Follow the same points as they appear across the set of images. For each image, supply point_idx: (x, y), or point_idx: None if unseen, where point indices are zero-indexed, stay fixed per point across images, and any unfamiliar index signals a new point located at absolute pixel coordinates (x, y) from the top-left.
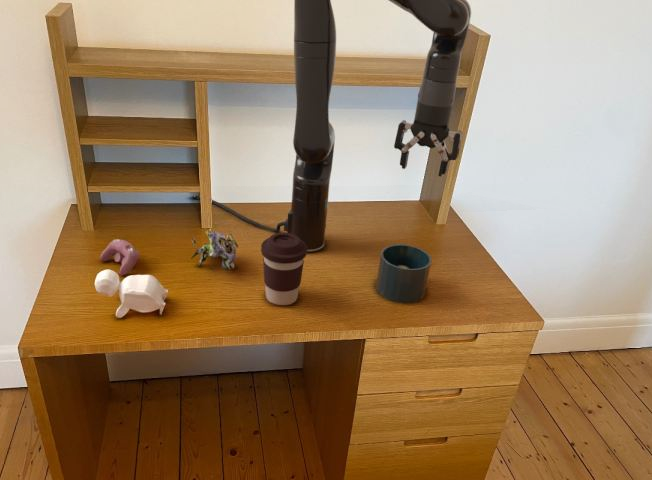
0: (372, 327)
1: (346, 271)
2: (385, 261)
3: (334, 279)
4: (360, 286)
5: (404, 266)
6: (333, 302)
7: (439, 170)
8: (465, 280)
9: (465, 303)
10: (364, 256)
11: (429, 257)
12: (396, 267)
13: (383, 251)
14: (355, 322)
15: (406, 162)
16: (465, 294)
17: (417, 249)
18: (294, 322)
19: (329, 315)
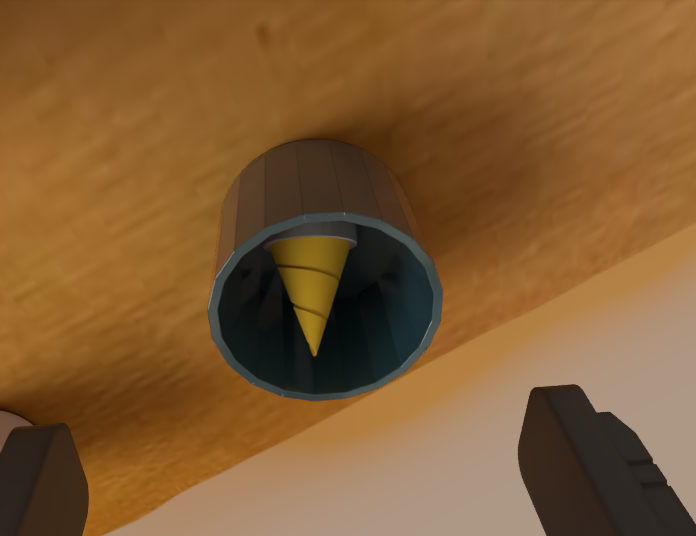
0: (301, 428)
1: (73, 216)
2: (259, 386)
3: (68, 286)
4: (176, 280)
5: (314, 236)
6: (146, 392)
7: (545, 528)
8: (565, 23)
9: (559, 195)
10: (65, 50)
11: (429, 271)
12: (315, 400)
13: (218, 326)
14: (250, 432)
15: (56, 526)
16: (561, 137)
17: (359, 222)
18: (107, 497)
19: (171, 441)
